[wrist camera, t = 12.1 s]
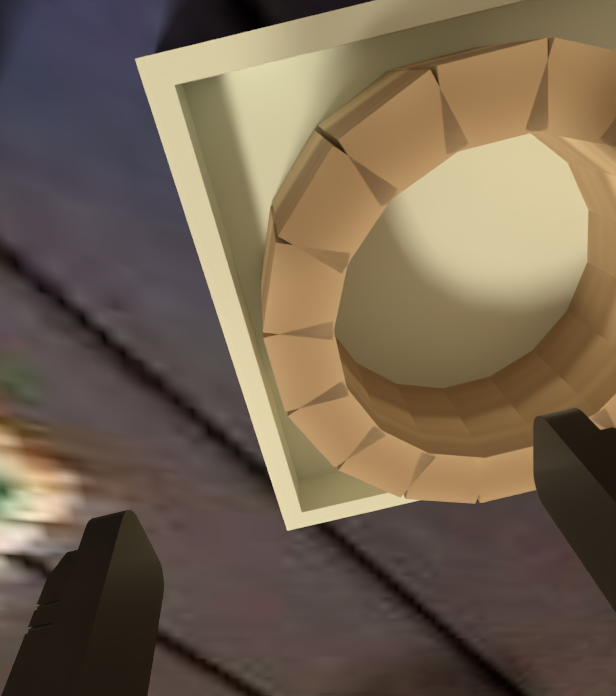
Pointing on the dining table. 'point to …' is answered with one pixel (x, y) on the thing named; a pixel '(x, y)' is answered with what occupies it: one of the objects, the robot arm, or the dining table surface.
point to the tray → (393, 224)
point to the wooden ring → (360, 216)
